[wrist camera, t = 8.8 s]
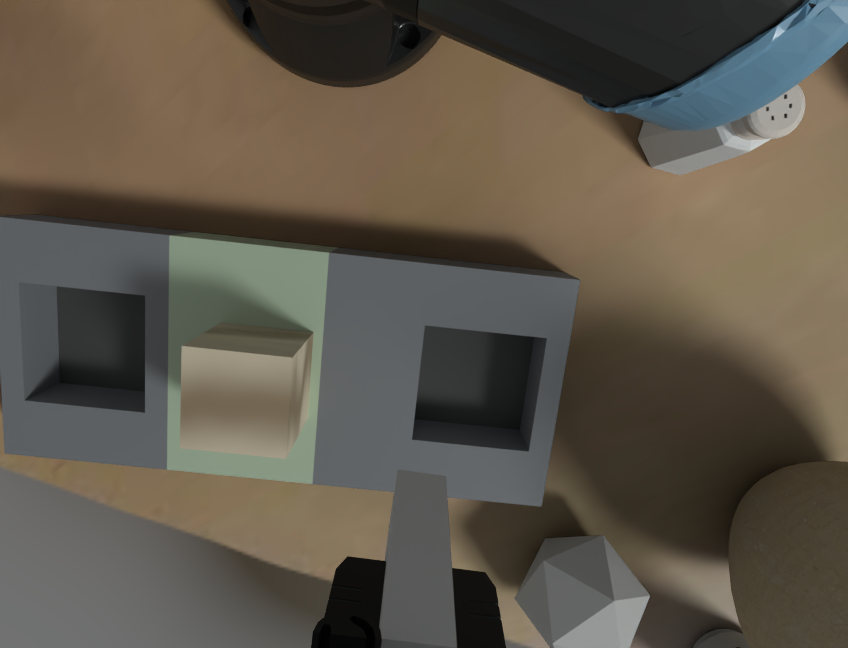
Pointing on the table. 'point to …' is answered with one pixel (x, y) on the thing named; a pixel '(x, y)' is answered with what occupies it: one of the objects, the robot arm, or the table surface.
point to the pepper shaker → (721, 136)
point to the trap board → (294, 310)
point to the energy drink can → (722, 639)
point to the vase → (793, 558)
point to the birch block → (245, 389)
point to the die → (582, 594)
